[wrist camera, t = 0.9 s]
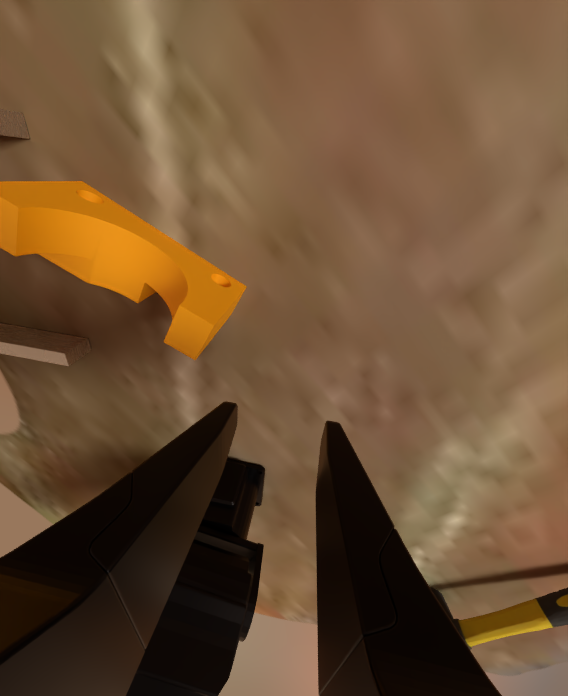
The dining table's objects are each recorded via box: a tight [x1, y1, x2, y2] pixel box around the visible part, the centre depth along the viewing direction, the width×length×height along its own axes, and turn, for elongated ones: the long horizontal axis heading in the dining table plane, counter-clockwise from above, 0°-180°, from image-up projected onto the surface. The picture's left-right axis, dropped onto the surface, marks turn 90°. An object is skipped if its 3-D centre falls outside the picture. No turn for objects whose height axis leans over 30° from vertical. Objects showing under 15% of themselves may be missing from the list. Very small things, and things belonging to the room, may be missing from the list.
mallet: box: [430, 588, 568, 649], centre depth 29 cm, size 29×6×10 cm, turn 133°
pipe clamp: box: [0, 181, 246, 360], centre depth 17 cm, size 12×4×6 cm, turn 58°
